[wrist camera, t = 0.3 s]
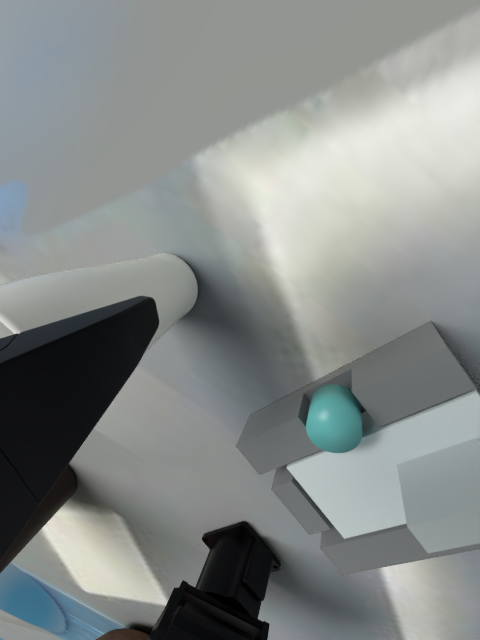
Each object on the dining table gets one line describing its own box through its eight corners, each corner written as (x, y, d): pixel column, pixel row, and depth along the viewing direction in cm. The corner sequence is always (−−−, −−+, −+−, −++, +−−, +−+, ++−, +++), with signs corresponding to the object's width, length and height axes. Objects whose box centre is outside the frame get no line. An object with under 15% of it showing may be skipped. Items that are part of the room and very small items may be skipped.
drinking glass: (226, 289, 25) (85, 398, 12) (175, 338, 28) (18, 468, 15) (165, 223, 25) (-51, 259, 11) (120, 280, 28) (-91, 360, 15)
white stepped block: (344, 508, 27) (342, 604, 21) (292, 443, 27) (273, 521, 20) (524, 456, 21) (598, 568, 15) (462, 369, 21) (512, 448, 14)
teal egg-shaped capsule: (328, 432, 24) (326, 460, 21) (301, 396, 24) (295, 421, 21) (371, 414, 22) (373, 442, 20) (342, 376, 22) (340, 399, 20)
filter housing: (343, 529, 30) (342, 574, 26) (250, 414, 29) (235, 446, 25) (542, 477, 23) (578, 530, 19) (430, 321, 21) (446, 346, 18)
